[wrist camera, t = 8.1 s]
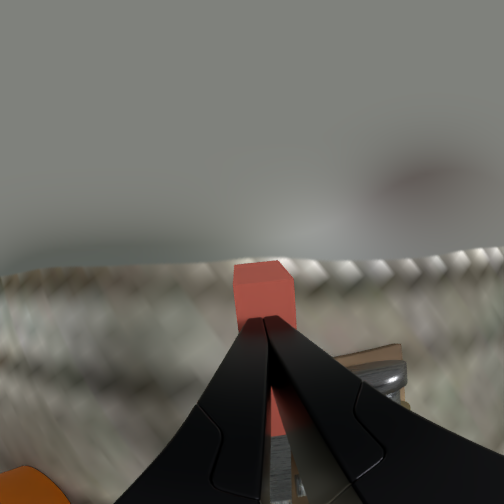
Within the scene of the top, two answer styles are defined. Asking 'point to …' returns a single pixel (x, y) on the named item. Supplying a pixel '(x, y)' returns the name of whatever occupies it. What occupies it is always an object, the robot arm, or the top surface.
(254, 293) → the valve lever
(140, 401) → the top surface
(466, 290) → the top surface
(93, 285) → the top surface
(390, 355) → the valve stand
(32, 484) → the shaker bottle
